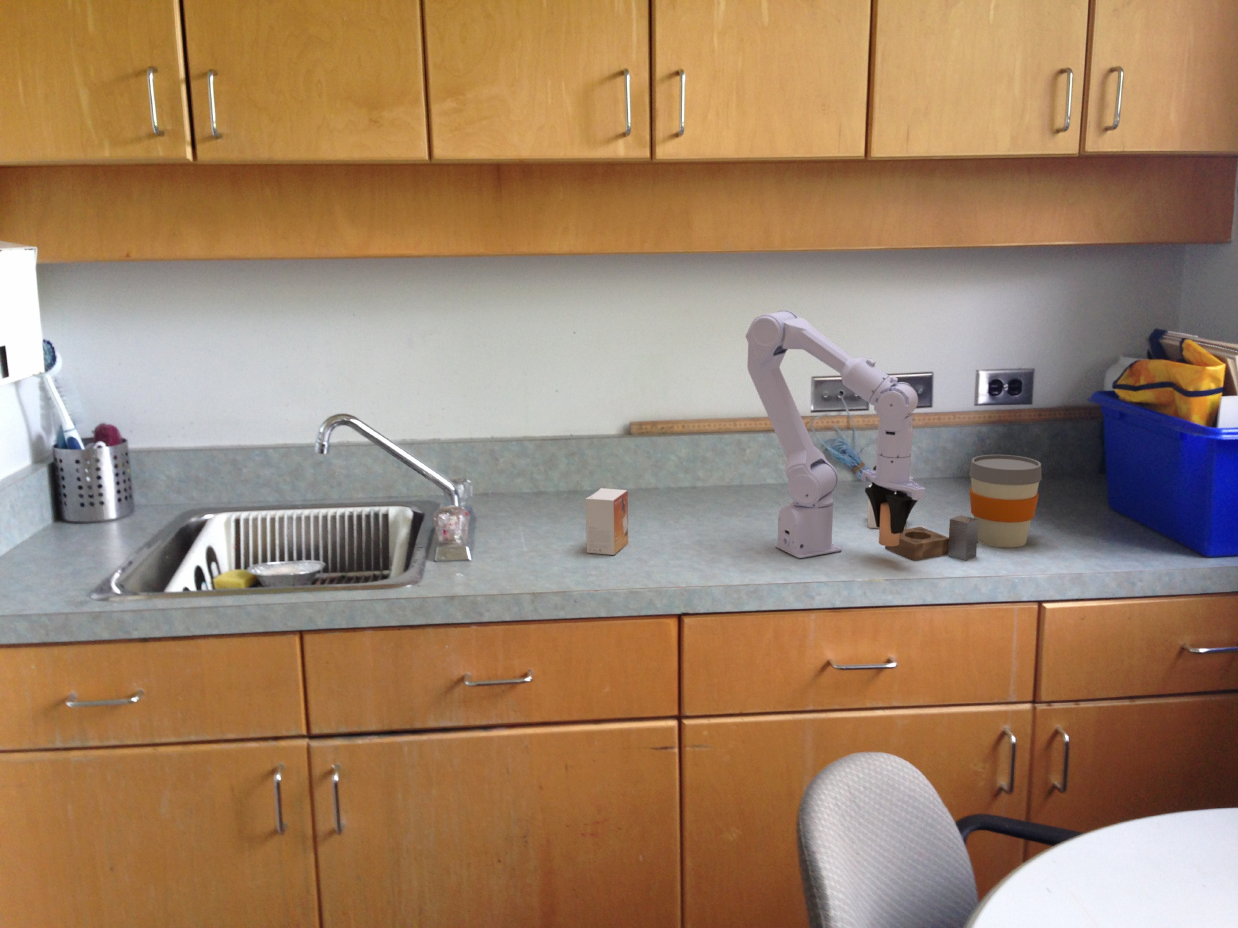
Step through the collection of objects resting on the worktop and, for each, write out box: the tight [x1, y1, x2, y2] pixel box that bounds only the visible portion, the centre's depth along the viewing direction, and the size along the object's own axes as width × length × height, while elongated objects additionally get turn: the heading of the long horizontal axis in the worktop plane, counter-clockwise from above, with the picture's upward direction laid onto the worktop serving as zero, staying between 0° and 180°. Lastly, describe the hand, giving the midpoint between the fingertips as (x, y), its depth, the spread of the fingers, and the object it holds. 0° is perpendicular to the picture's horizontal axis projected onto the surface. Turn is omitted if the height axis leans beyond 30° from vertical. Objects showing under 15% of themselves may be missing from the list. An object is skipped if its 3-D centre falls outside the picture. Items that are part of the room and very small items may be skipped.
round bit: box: [878, 502, 900, 547], centre depth 181 cm, size 4×4×7 cm
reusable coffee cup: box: [968, 454, 1043, 548], centre depth 192 cm, size 13×13×15 cm
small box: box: [585, 487, 629, 556], centre depth 192 cm, size 8×6×10 cm
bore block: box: [884, 526, 949, 562], centre depth 188 cm, size 8×8×3 cm
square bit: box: [947, 514, 979, 562], centre depth 184 cm, size 4×4×7 cm
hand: (889, 529), depth 182 cm, fingers closed on round bit, 3 cm apart
